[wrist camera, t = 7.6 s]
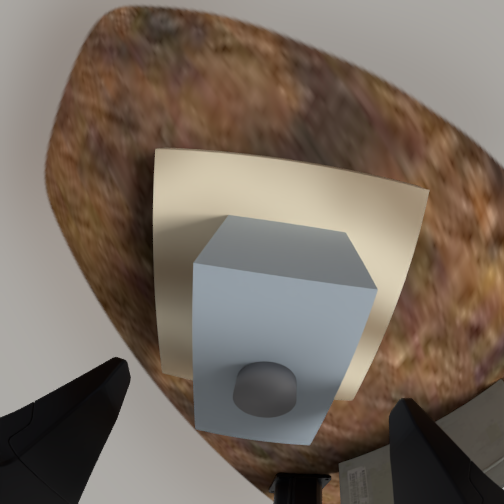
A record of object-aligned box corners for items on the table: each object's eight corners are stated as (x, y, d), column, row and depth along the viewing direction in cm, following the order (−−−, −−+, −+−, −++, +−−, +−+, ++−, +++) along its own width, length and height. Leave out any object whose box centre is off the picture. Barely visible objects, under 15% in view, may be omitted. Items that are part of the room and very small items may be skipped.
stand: (346, 368, 18) (352, 400, 16) (176, 344, 19) (162, 372, 16) (404, 180, 13) (429, 190, 11) (179, 146, 14) (155, 148, 11)
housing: (228, 214, 12) (183, 276, 7) (345, 232, 12) (385, 304, 7) (217, 357, 15) (190, 443, 10) (307, 370, 15) (309, 459, 10)
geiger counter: (354, 571, 12) (584, 452, 4) (327, 573, 11) (603, 429, 3) (350, 473, 25) (535, 367, 17) (326, 457, 24) (538, 334, 16)
